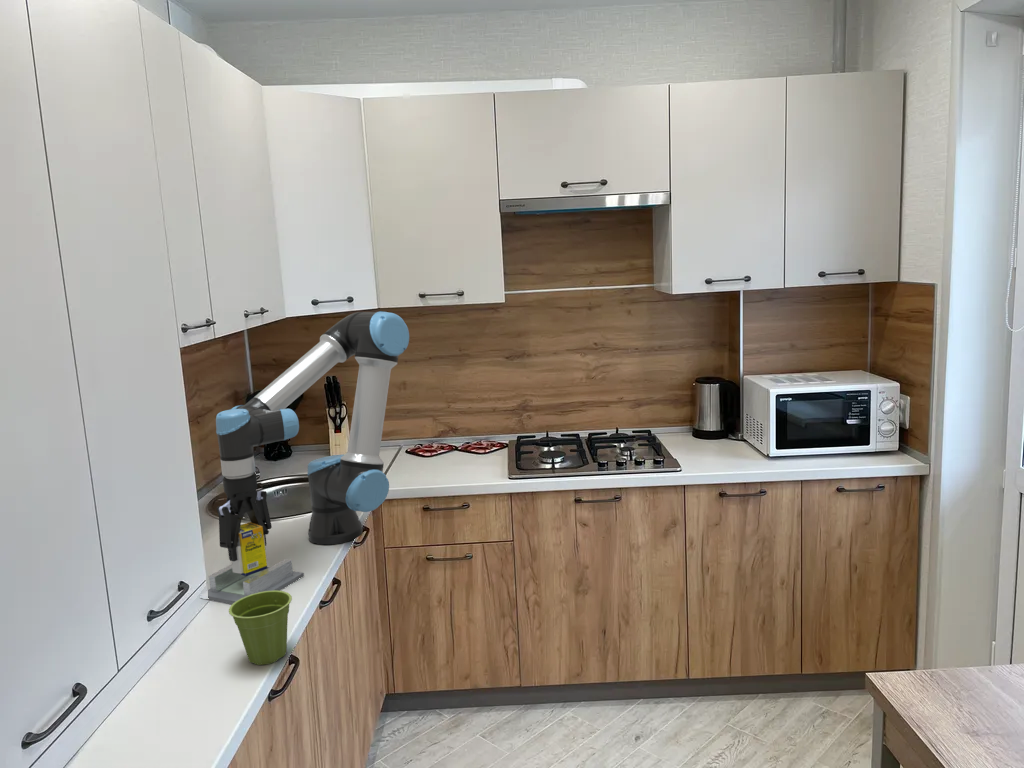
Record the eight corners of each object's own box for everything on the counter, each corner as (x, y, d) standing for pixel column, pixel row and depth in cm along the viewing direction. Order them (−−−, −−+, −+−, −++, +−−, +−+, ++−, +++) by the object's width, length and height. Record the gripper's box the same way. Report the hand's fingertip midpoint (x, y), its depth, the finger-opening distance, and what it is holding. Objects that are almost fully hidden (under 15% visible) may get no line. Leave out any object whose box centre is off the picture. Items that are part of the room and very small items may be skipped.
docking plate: (256, 568, 192) (253, 550, 191) (303, 576, 185) (301, 557, 184) (200, 598, 176) (197, 578, 176) (250, 608, 169) (247, 587, 169)
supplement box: (268, 568, 180) (263, 525, 179) (245, 577, 176) (240, 533, 174) (255, 563, 184) (250, 521, 182) (232, 571, 180) (227, 528, 178)
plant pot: (285, 635, 156) (279, 584, 154) (307, 656, 146) (300, 603, 144) (227, 655, 149) (220, 602, 147) (246, 679, 139) (239, 623, 137)
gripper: (258, 462, 187) (268, 549, 190) (193, 485, 169) (206, 580, 173) (280, 464, 183) (290, 553, 187) (217, 487, 166) (229, 584, 169)
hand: (250, 566), depth 180 cm, fingers closed on supplement box, 7 cm apart
